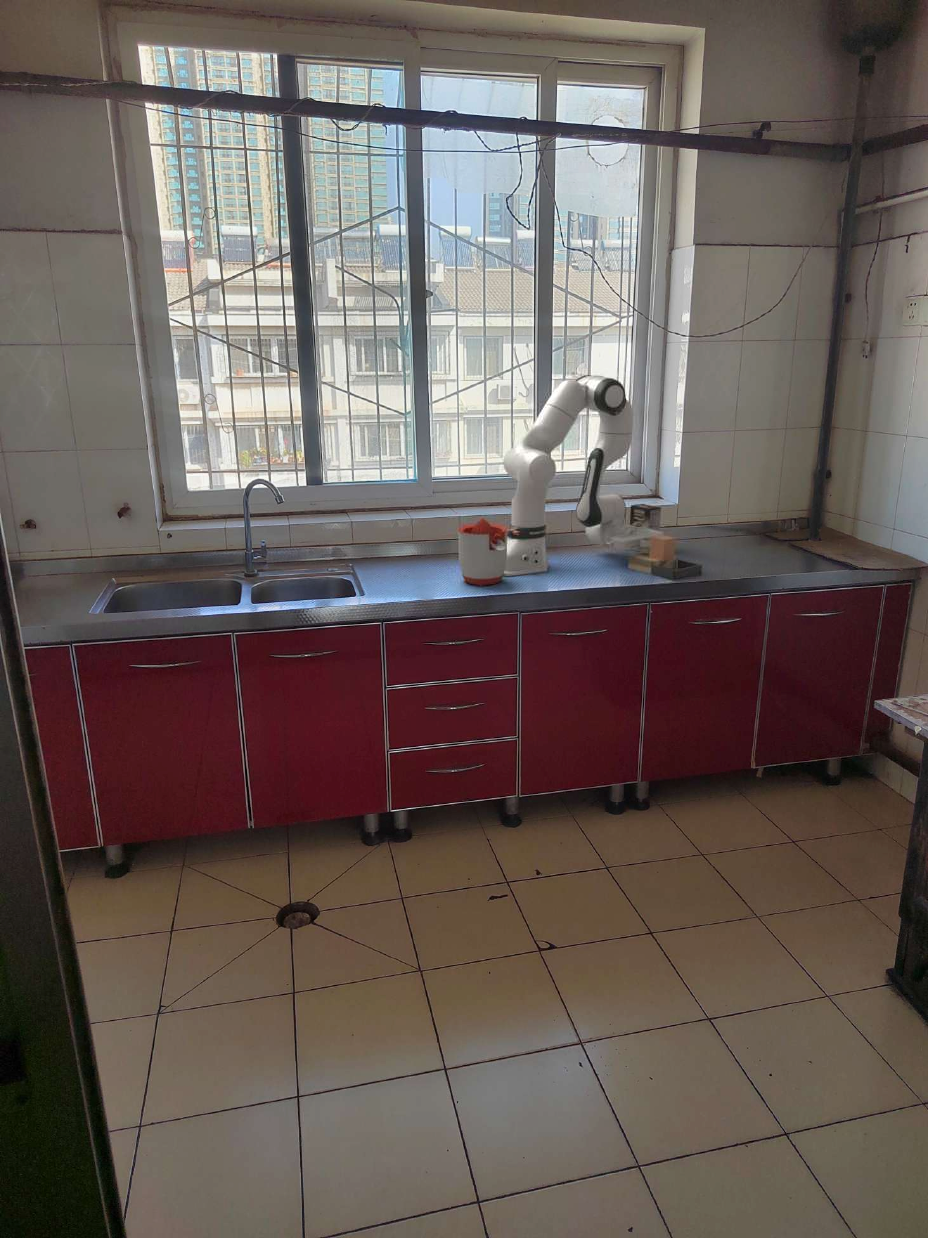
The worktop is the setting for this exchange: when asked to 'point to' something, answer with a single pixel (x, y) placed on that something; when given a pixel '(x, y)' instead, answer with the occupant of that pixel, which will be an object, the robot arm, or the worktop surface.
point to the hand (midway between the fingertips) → (655, 544)
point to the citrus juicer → (482, 552)
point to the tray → (677, 570)
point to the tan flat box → (649, 562)
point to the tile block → (662, 547)
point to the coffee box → (645, 519)
